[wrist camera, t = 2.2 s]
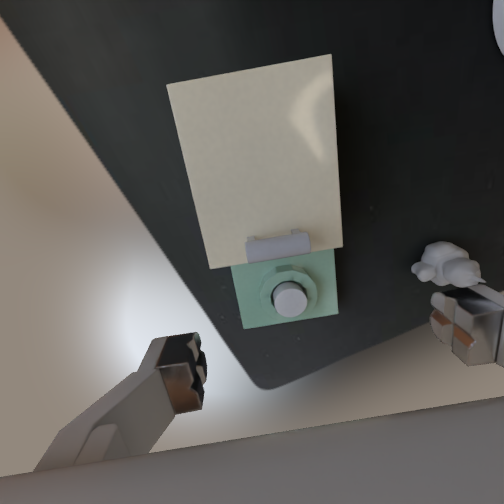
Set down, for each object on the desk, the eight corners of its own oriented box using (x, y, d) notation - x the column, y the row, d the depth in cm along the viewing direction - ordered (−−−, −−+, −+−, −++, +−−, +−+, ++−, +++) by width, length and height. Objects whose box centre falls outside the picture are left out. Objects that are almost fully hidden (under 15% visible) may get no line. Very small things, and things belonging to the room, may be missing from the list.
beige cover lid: (340, 244, 26) (361, 263, 22) (210, 266, 27) (204, 290, 22) (328, 57, 21) (353, 29, 17) (168, 86, 22) (148, 68, 17)
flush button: (302, 279, 31) (305, 285, 30) (305, 306, 32) (308, 314, 31) (270, 284, 31) (272, 291, 30) (275, 311, 32) (276, 320, 31)
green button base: (325, 238, 34) (338, 251, 30) (330, 300, 38) (343, 322, 33) (230, 254, 35) (229, 270, 30) (243, 315, 38) (243, 338, 33)
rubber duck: (455, 267, 36) (511, 296, 29) (406, 283, 37) (448, 317, 30) (451, 230, 35) (509, 251, 27) (399, 247, 35) (442, 273, 28)
